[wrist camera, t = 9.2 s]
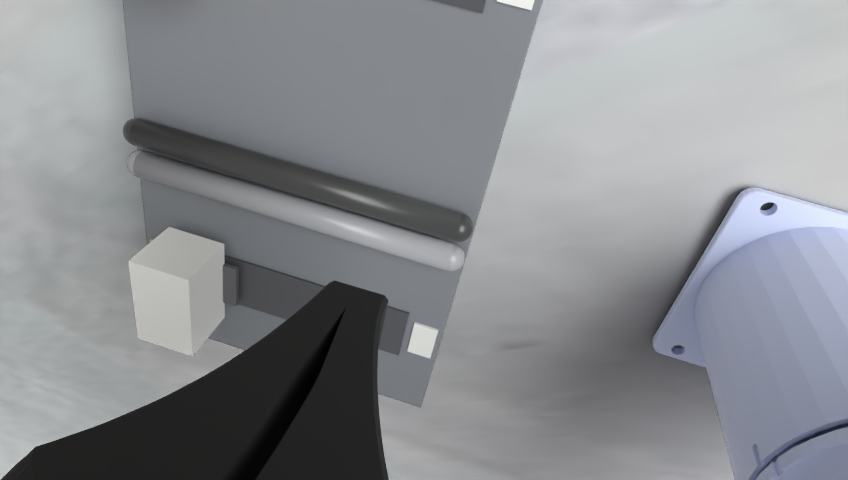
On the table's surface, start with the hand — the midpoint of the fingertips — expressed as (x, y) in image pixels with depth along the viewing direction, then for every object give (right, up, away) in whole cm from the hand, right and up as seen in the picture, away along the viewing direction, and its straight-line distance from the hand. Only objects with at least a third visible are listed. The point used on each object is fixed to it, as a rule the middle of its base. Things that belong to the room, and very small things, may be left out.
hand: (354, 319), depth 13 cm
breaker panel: (-2, +7, +8) cm, 11 cm away
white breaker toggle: (-8, 0, +11) cm, 13 cm away
